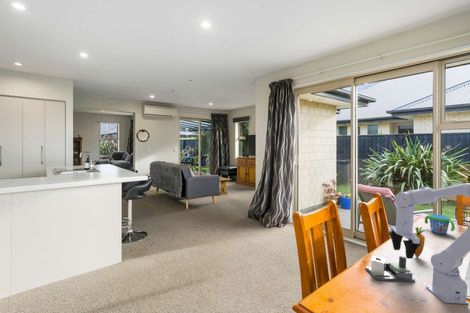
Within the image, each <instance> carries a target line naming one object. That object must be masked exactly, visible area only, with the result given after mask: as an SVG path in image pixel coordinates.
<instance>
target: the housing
mask: <svg viewBox="0 0 470 313" xmlns="http://www.w3.org/2000/svg"><path fill="white" fill-rule="evenodd" d="M370 260H371V266H370V267H371V272H374V273H378V274H381V275H384V272H385V262H387V261H386V258H383V257H379V256H376V255H373V256H372V258H371V259H370Z"/></svg>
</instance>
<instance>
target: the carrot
mask: <svg viewBox="0 0 470 313" xmlns="http://www.w3.org/2000/svg"><path fill="white" fill-rule="evenodd" d="M422 229H423V228H422V226H421V227H418V226H417V227H415V234H414V235H415V236H416V237H418V238H419V239H420V240H419V242H420V243H421V245H420V246H419V247H418V248H417V249H416V251H415V253H414V256H415V257H416V258H419V257H420V256H421V255H422V253H423V251H424V247H425V241H426V239H425V236H424V235H423V234H422V233H423V232H426V230H425V229H423V230H422Z"/></svg>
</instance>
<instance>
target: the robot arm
mask: <svg viewBox="0 0 470 313" xmlns="http://www.w3.org/2000/svg"><path fill="white" fill-rule="evenodd" d="M460 195H461V196H465V197H467V198H470V182H466V183H460V184H456V185H451V186H446V187H441V188H436V189H434V188H432V187H430V186H429V187H428V186H421V187H420V188H418V189H408V190H407V191H404V192H403V191H401V192H398V193H397V194H395V195H394V203H395V204H396V217H395V225H390V227H389V228H390V229H389V230H390V231H388V236H389V237H390V239H391V244H392V246H393V250H394V251H400V250H401V246H402V242H403V246H404V248H405V258H406V259H412V260H413V258H414V256H415V254H414V253H415V251H416V249H417V248H418V247H419V246H420V245H421V243H420V242H419V240H420V239H419V238H418V237H416V236H415V235H414V234H415V233H416V231H414V212H415V211H414V210H415V206H418V205H424V204H431V203H435V202H436V201H437V199H439V198H447V197H452V196H453V197H454V196H460ZM403 238H405V239H408V240H405V239H403ZM402 240H403V241H402ZM469 253H470V226H469V227H468V228H467V229H465V231H463V233H461V234H460V235H459V236H458V237H457V238H456V239H455V240H454V241H453V242H452V243H451V244H450V245H448V246H447V247H446V248H444V249H443V250H442V251H440V252H438V253H434V254H433V255H431V257H430V263H431V266H432V279H431V280H432V283H431V285H425V288H426V289H427V290H429V291H430V292H431V293H432V294H434V295H435V296H436V297H437V298H439V299H440V300H441V301H442V302H444V303H446V304H461V305H469V303H470V302H469V301H468V300H467V298H468V297H467V295H468V284H467V283H466V281H465V280H464V279H462V277H461V275H460V268H459V267H461V266H462V264H463V261H464V258H466V257H467V255H468V254H469Z"/></svg>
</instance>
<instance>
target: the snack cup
mask: <svg viewBox="0 0 470 313" xmlns="http://www.w3.org/2000/svg"><path fill="white" fill-rule="evenodd" d="M428 219H429V221H428ZM428 223H429V227H430V231H431V232H432V233H434V232H435V234H438V233H439V234H438V235H446V234H447V233H448V229H449V225H451V228H450V231H451V232H453V231H455V228H456V226H455V223H454V221H453V220H452V219H451V217H450V216H447V215H442V214H435V213H431V214H428V215H426V216H425V218H424V224H428Z"/></svg>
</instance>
